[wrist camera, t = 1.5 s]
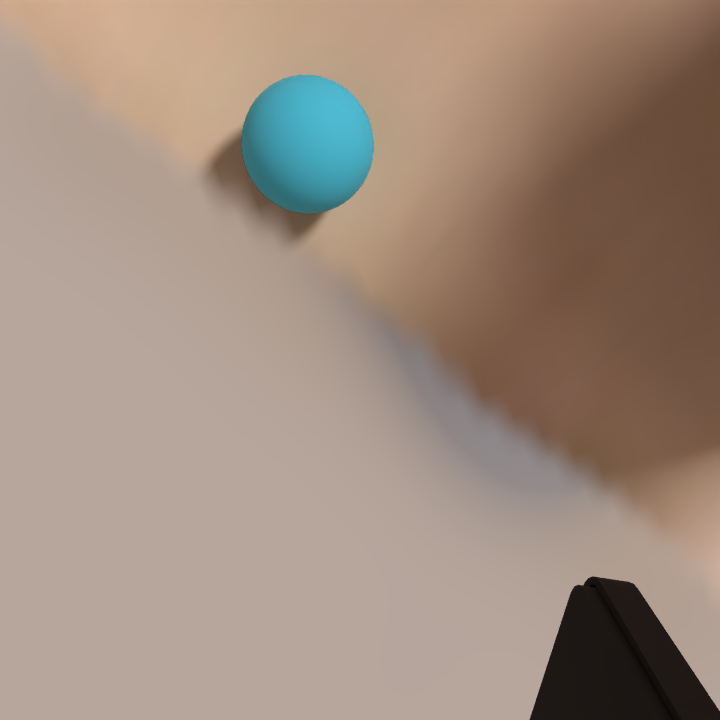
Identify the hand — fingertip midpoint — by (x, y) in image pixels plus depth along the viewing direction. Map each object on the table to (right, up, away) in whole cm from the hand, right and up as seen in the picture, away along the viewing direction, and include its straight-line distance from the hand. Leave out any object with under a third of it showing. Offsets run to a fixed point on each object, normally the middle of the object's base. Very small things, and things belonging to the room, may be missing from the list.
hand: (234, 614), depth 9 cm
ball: (0, +12, +16) cm, 20 cm away
